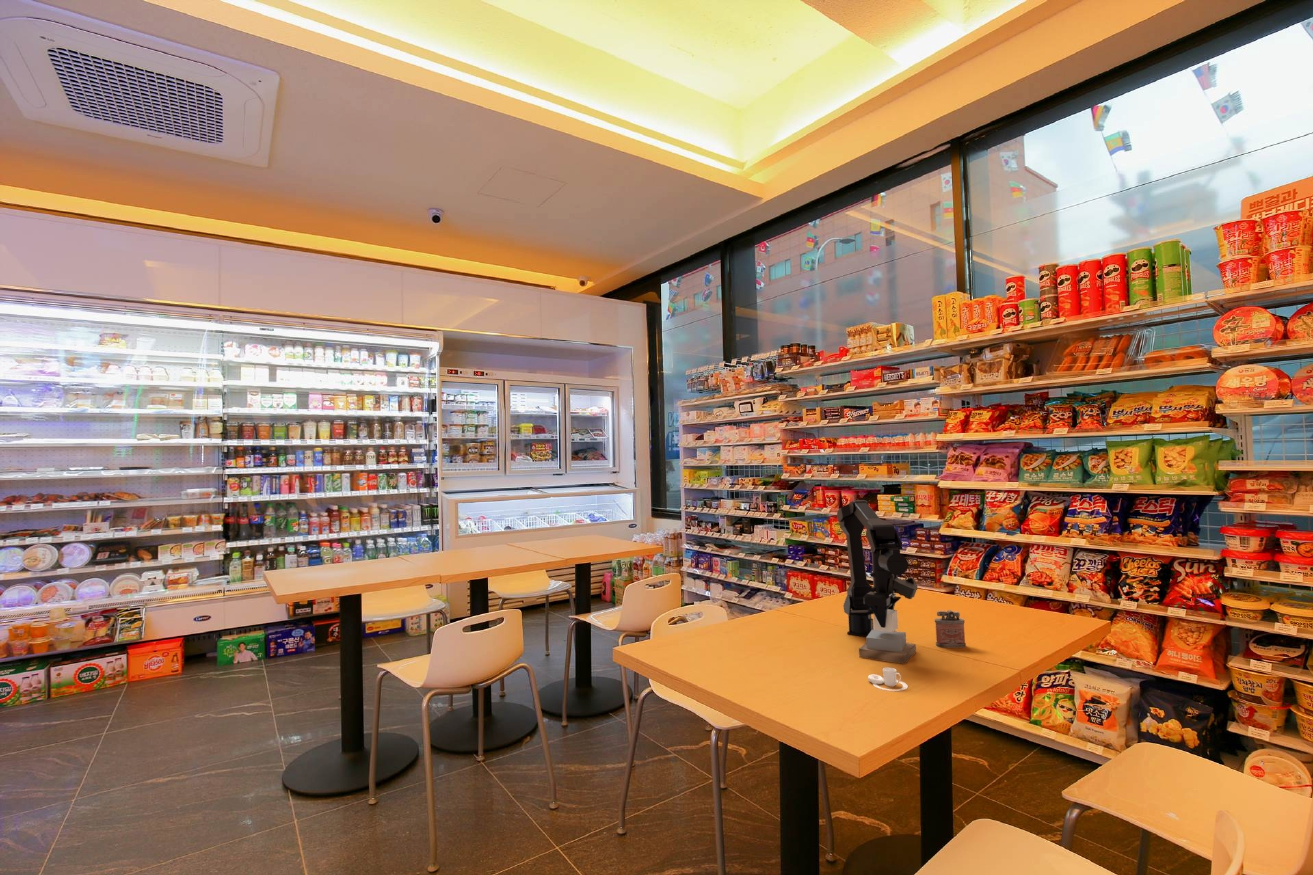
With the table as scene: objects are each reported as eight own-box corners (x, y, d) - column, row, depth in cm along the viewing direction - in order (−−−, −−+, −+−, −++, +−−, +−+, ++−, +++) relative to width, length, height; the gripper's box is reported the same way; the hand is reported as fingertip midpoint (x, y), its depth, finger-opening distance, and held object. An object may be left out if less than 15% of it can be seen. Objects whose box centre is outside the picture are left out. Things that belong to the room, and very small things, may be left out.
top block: (866, 648, 169) (866, 637, 170) (872, 639, 177) (872, 629, 177) (901, 652, 165) (900, 640, 165) (906, 642, 173) (905, 632, 173)
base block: (859, 659, 169) (859, 648, 170) (872, 648, 179) (872, 637, 179) (904, 666, 162) (904, 655, 162) (916, 654, 172) (915, 643, 172)
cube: (874, 629, 171) (873, 611, 171) (879, 625, 175) (878, 608, 175) (892, 632, 168) (891, 613, 168) (897, 628, 172) (897, 610, 172)
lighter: (963, 643, 178) (961, 609, 179) (967, 647, 175) (965, 611, 175) (934, 644, 179) (932, 609, 179) (938, 647, 176) (936, 612, 176)
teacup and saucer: (863, 683, 151) (862, 666, 151) (888, 677, 154) (887, 661, 154) (889, 695, 143) (888, 677, 143) (915, 689, 146) (914, 671, 146)
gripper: (904, 576, 160) (907, 637, 159) (922, 565, 175) (924, 621, 174) (861, 573, 166) (864, 631, 166) (882, 563, 181) (884, 616, 181)
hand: (885, 625), depth 171 cm, fingers closed on cube, 5 cm apart
